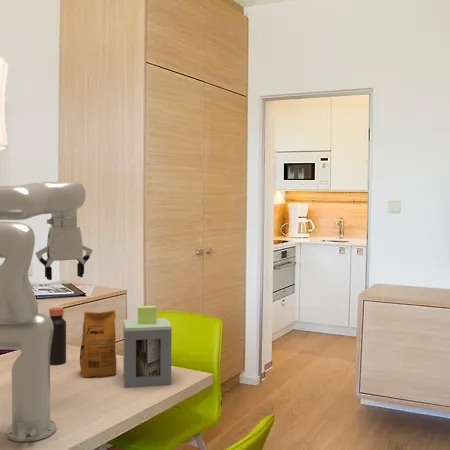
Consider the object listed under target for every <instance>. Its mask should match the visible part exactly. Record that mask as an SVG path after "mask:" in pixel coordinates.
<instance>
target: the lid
mask: <svg viewBox="0 0 450 450" xmlns="http://www.w3.org/2000/svg"><path fill="white" fill-rule="evenodd" d="M172 327H173V326H172V325H171V322H170V321H169V319H168V318H167V317H163V318H162V317H160V318H157V305H137V318H135V319H134V318H132V319H123V329H124V328H125V331H145V330H169V329H173V328H172Z"/></svg>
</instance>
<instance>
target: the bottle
mask: <svg viewBox="0 0 450 450" xmlns="http://www.w3.org/2000/svg"><path fill="white" fill-rule="evenodd" d="M63 316H64V308H63V307H50V308H49V317H50V318H51V320H52V322H53V326H54V330H53V337H52V343H51V351H50V366H57V365H59V366H60V365H63V364H65V363H66V362H67V321H66V320H65V319H64V318H63Z"/></svg>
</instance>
